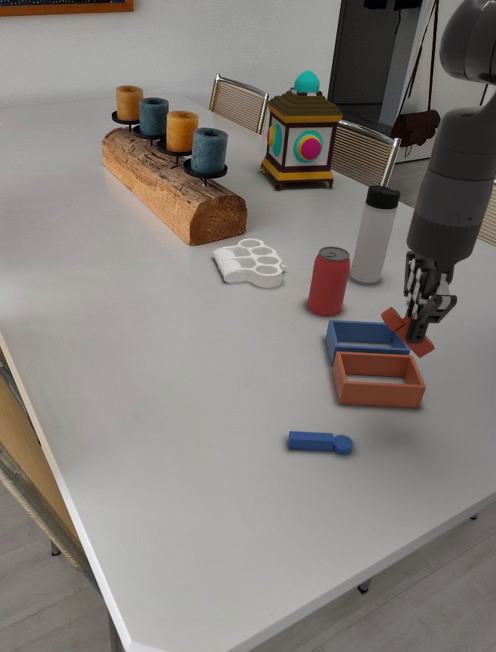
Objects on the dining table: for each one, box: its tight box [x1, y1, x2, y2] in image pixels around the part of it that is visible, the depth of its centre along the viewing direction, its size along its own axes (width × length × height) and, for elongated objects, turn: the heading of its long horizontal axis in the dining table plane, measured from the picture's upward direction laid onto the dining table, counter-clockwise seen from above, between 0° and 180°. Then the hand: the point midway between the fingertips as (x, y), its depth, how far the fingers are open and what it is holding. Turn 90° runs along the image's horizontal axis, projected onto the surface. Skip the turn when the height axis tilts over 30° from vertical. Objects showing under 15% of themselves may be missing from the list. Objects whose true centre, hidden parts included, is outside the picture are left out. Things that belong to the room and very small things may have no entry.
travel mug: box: [349, 185, 402, 286], centre depth 110 cm, size 6×7×20 cm
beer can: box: [307, 246, 351, 317], centre depth 102 cm, size 7×7×12 cm
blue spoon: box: [287, 430, 354, 456], centre depth 75 cm, size 9×3×2 cm, turn 88°
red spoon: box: [380, 306, 436, 359], centre depth 72 cm, size 9×3×2 cm
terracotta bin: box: [331, 351, 427, 409], centre depth 85 cm, size 12×8×4 cm
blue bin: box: [324, 319, 412, 367], centre depth 92 cm, size 12×8×4 cm
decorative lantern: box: [260, 69, 344, 192], centre depth 156 cm, size 20×20×30 cm
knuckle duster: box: [212, 238, 289, 289], centre depth 117 cm, size 3×18×15 cm
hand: (411, 337), depth 72 cm, fingers closed on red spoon, 1 cm apart
